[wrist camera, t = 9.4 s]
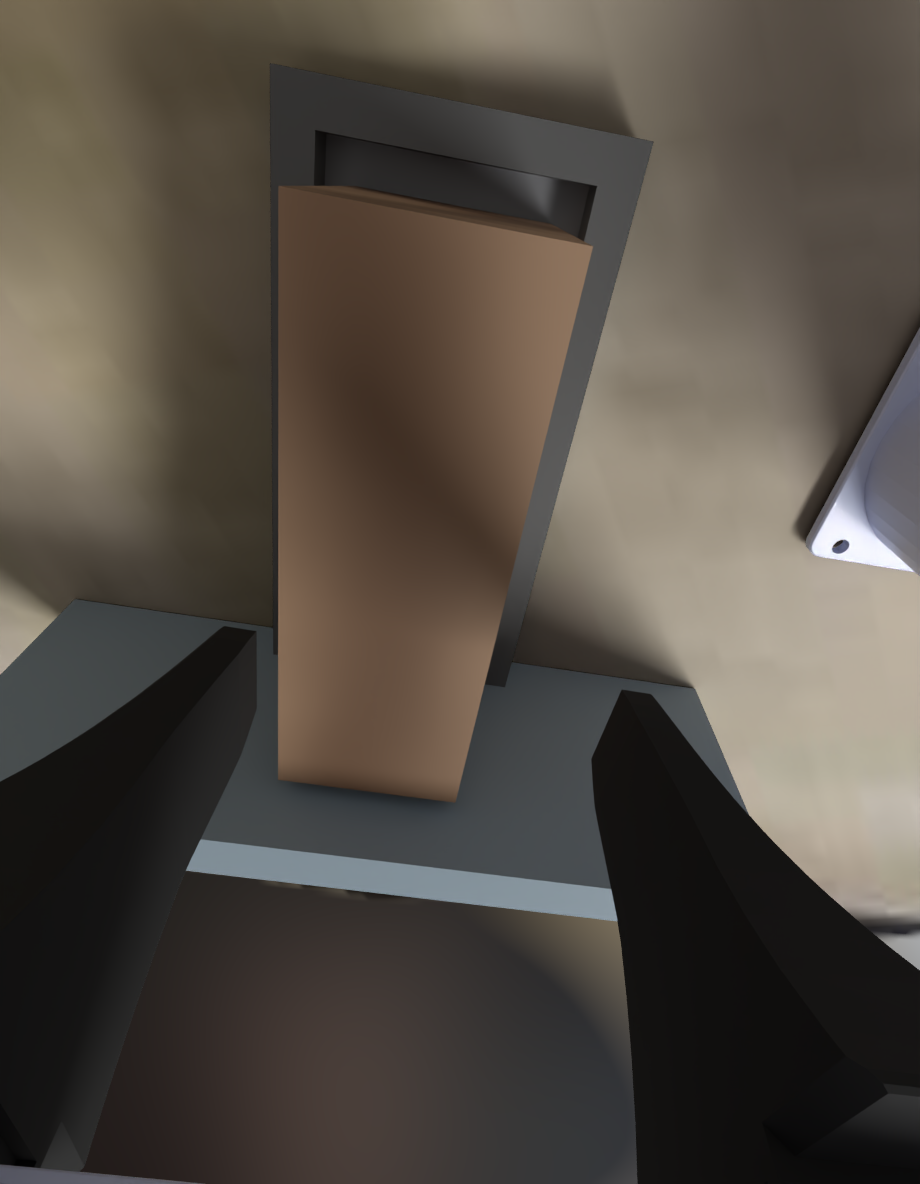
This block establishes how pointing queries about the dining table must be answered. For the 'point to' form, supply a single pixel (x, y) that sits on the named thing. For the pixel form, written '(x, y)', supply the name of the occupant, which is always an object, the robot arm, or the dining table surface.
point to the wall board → (512, 690)
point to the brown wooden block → (404, 469)
